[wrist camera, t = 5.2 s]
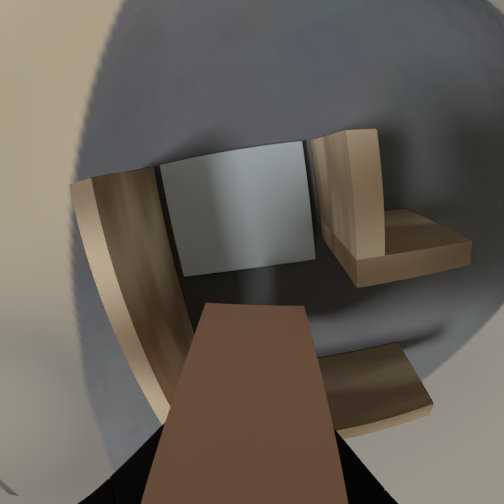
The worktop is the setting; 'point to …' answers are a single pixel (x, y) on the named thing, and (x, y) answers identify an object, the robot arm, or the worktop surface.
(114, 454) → the worktop surface
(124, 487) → the robot arm
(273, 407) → the peg
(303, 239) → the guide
